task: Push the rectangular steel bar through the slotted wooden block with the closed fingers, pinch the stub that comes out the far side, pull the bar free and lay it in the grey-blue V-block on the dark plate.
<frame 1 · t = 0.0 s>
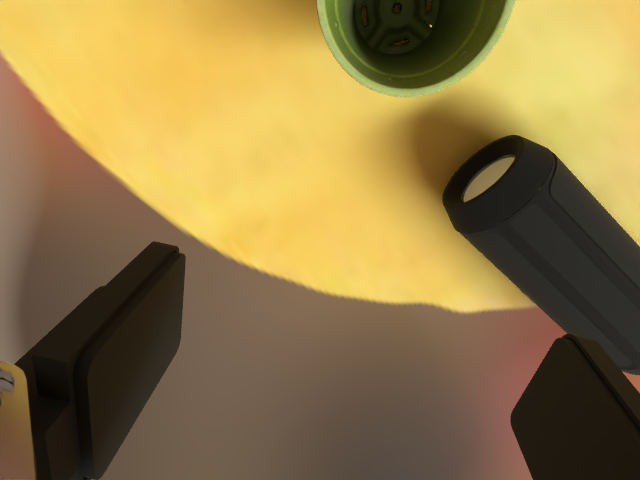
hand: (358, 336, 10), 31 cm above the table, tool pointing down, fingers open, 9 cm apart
plant pot: (397, 9, 34), on the table
portable speaker: (545, 237, 42), on the table
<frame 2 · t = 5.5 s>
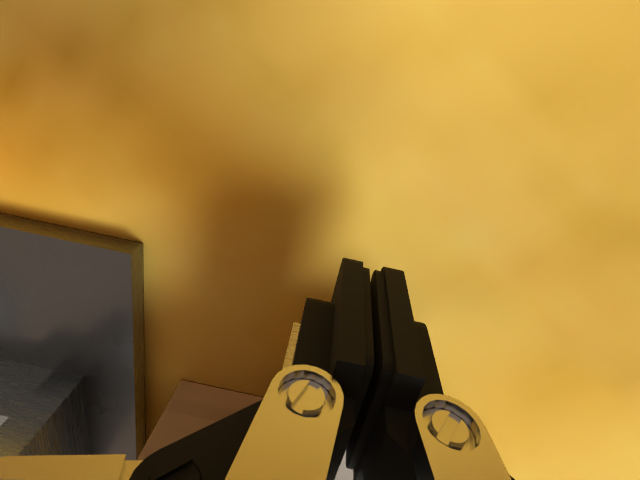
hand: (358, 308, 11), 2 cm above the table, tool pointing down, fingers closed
v-block: (11, 393, 17), on the table
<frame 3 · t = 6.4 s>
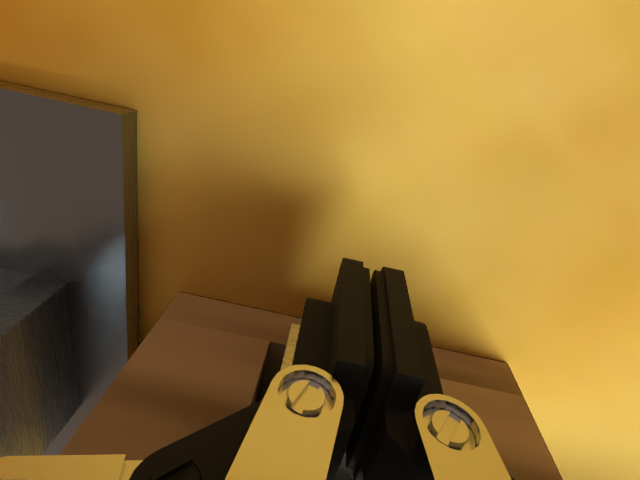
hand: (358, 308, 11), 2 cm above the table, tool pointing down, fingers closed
slotted wooden block: (317, 422, 16), on the table
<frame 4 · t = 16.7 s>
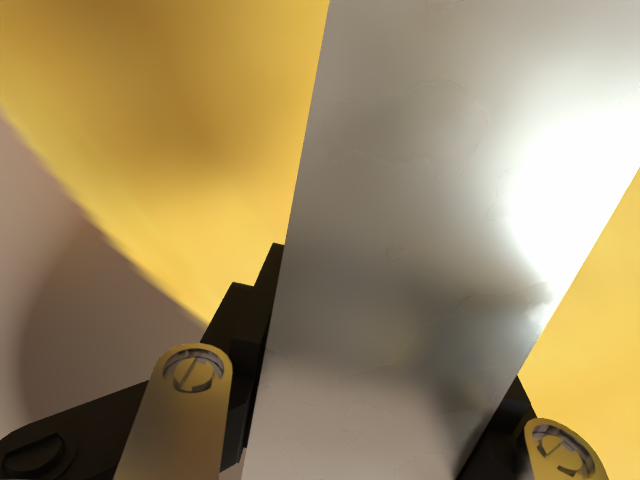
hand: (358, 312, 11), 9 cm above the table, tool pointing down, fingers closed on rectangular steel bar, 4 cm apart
rectangular steel bar: (413, 134, 9), point 9 cm above the table, touching gripper
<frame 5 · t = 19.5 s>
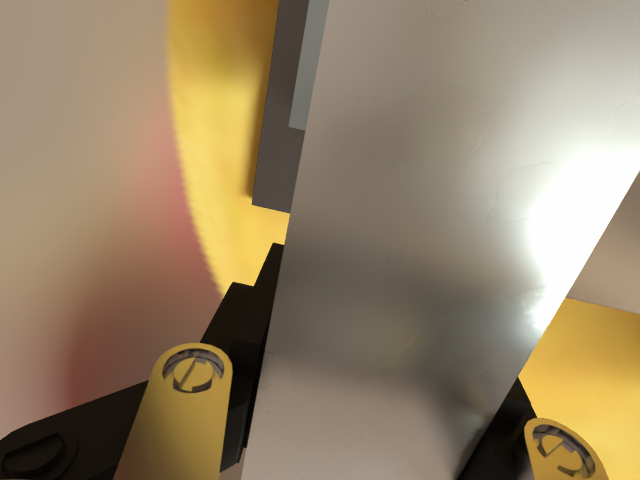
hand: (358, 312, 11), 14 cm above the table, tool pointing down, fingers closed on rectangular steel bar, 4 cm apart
slotted wooden block: (609, 162, 22), on the table
rectangular steel bar: (413, 135, 9), point 14 cm above the table, touching gripper
v-block: (385, 70, 21), on the table
when the fingers open (4 cm above the table, at t = 21.9 s): rectangular steel bar drops 1 cm, resting on v-block.
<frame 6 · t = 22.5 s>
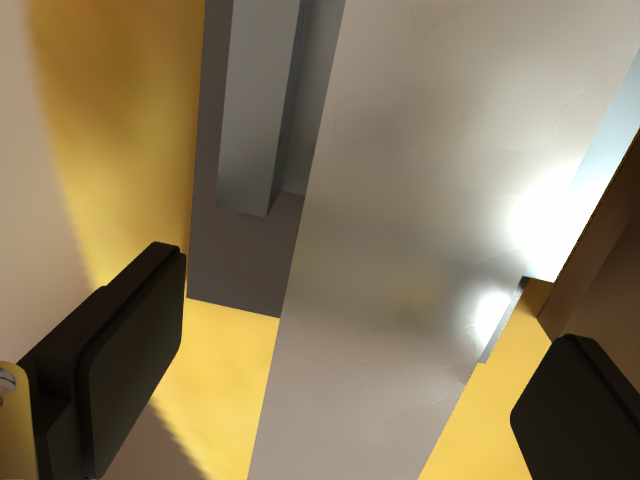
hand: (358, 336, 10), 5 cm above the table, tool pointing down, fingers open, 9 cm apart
rectangular steel bar: (408, 132, 10), point 3 cm above the table, touching v-block
v-block: (401, 89, 12), on the table
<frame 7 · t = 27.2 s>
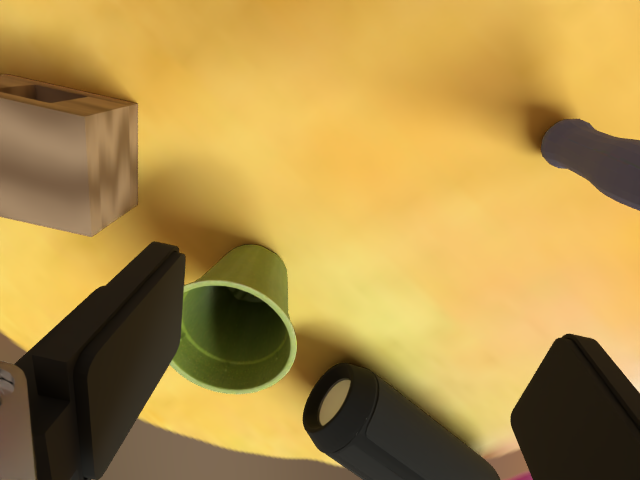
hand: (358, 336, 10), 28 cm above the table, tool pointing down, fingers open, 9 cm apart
plant pot: (256, 272, 43), on the table
slotted wooden block: (76, 143, 38), on the table
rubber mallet: (557, 138, 34), on the table
portable speaker: (403, 417, 51), on the table
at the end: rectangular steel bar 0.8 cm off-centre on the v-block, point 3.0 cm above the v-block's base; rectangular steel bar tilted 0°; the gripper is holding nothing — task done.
